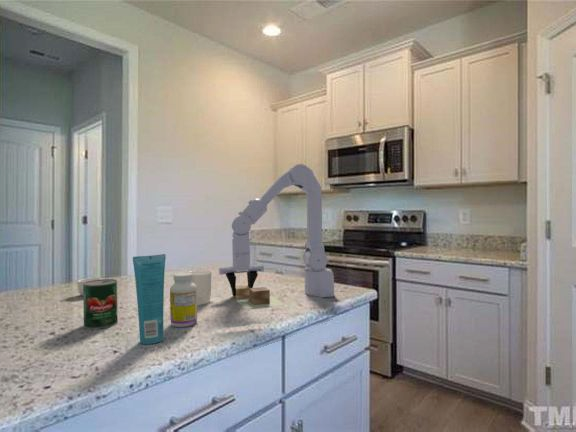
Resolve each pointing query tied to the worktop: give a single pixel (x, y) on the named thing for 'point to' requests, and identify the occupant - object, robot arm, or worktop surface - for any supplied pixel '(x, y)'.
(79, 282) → the teacup
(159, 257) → the tube
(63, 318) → the worktop surface
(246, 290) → the oak block
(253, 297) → the walnut block
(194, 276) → the white cup
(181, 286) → the supplement bottle
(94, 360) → the worktop surface
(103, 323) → the canned tomato
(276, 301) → the build board
